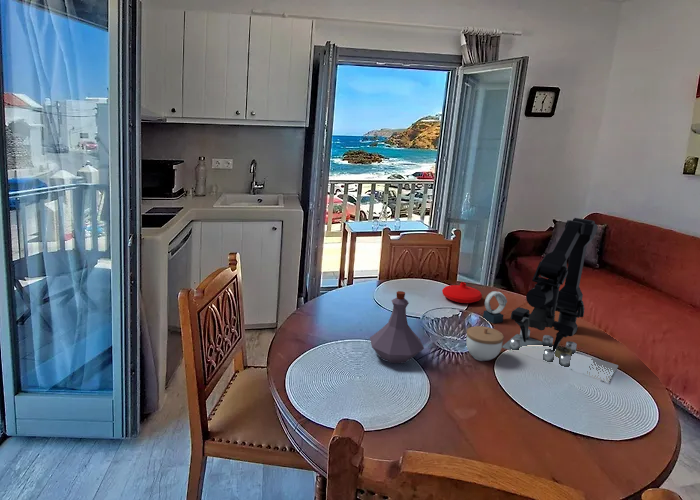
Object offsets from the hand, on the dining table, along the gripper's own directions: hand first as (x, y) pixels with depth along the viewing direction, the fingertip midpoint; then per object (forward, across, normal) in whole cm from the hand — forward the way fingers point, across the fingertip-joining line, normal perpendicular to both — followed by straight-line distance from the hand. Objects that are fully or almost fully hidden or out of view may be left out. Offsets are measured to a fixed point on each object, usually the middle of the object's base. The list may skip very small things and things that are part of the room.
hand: (539, 346), depth 153 cm
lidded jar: (+2, -11, -17) cm, 21 cm away
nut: (+1, +7, 0) cm, 7 cm away
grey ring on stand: (+2, -20, +13) cm, 24 cm away
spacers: (+2, +2, 0) cm, 2 cm away
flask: (+2, -30, -36) cm, 47 cm away
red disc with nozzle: (+2, -39, +25) cm, 46 cm away
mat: (+2, +6, 0) cm, 6 cm away
